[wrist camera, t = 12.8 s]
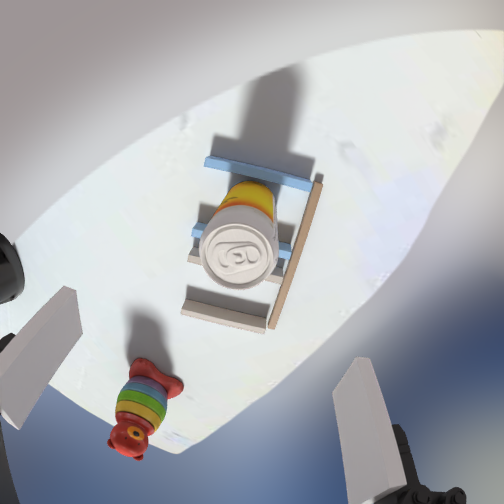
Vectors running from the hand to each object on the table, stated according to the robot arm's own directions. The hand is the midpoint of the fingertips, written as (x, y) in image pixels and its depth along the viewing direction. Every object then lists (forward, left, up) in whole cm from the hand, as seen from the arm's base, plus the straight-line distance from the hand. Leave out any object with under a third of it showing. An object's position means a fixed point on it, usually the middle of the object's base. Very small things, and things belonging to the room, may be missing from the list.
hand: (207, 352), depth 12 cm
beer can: (0, 0, -25) cm, 25 cm away
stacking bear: (-11, -38, -25) cm, 47 cm away
